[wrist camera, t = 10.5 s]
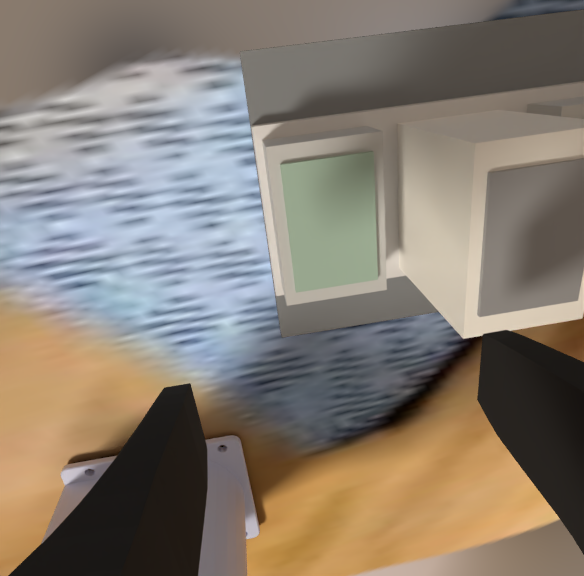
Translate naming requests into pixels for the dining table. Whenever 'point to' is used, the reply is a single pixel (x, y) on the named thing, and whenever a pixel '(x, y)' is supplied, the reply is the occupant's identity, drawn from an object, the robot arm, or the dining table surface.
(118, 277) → the dining table surface
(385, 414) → the dining table surface
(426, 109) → the mounting board
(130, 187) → the dining table surface
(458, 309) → the module block
